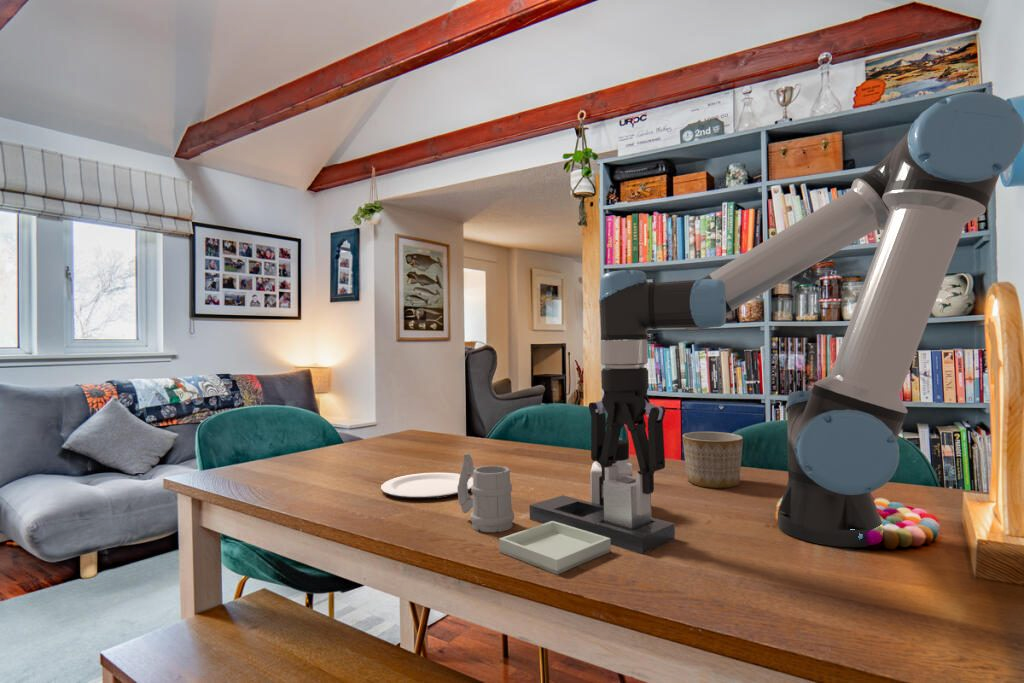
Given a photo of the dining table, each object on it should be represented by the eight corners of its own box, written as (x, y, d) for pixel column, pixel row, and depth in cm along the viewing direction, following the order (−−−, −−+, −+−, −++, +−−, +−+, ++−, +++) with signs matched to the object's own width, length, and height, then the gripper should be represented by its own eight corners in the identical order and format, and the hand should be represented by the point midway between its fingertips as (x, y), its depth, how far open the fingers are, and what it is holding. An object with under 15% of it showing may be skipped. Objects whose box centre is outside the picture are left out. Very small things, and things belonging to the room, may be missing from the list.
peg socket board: (674, 538, 90) (674, 523, 90) (642, 554, 84) (642, 537, 84) (563, 508, 108) (562, 495, 108) (529, 518, 102) (529, 505, 102)
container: (633, 513, 104) (631, 443, 104) (590, 511, 106) (589, 442, 106) (632, 501, 112) (631, 436, 112) (593, 500, 113) (592, 435, 113)
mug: (495, 536, 93) (494, 463, 93) (444, 523, 100) (443, 455, 100) (523, 524, 99) (522, 456, 99) (473, 512, 106) (472, 449, 106)
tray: (610, 551, 85) (610, 538, 85) (557, 574, 77) (556, 559, 77) (552, 532, 94) (552, 520, 94) (499, 551, 86) (498, 538, 86)
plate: (494, 492, 121) (494, 484, 121) (404, 510, 110) (404, 501, 110) (448, 474, 139) (448, 467, 139) (366, 488, 127) (366, 480, 127)
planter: (748, 480, 127) (747, 434, 127) (737, 493, 117) (736, 442, 117) (691, 474, 134) (690, 430, 134) (676, 485, 123) (675, 438, 123)
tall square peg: (651, 535, 91) (650, 479, 91) (632, 544, 88) (630, 485, 88) (624, 528, 95) (623, 473, 95) (604, 536, 92) (603, 479, 92)
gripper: (687, 366, 87) (691, 516, 87) (594, 364, 101) (597, 494, 101) (661, 368, 82) (664, 527, 82) (566, 366, 96) (569, 503, 96)
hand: (627, 509), depth 92 cm, fingers closed on tall square peg, 5 cm apart
